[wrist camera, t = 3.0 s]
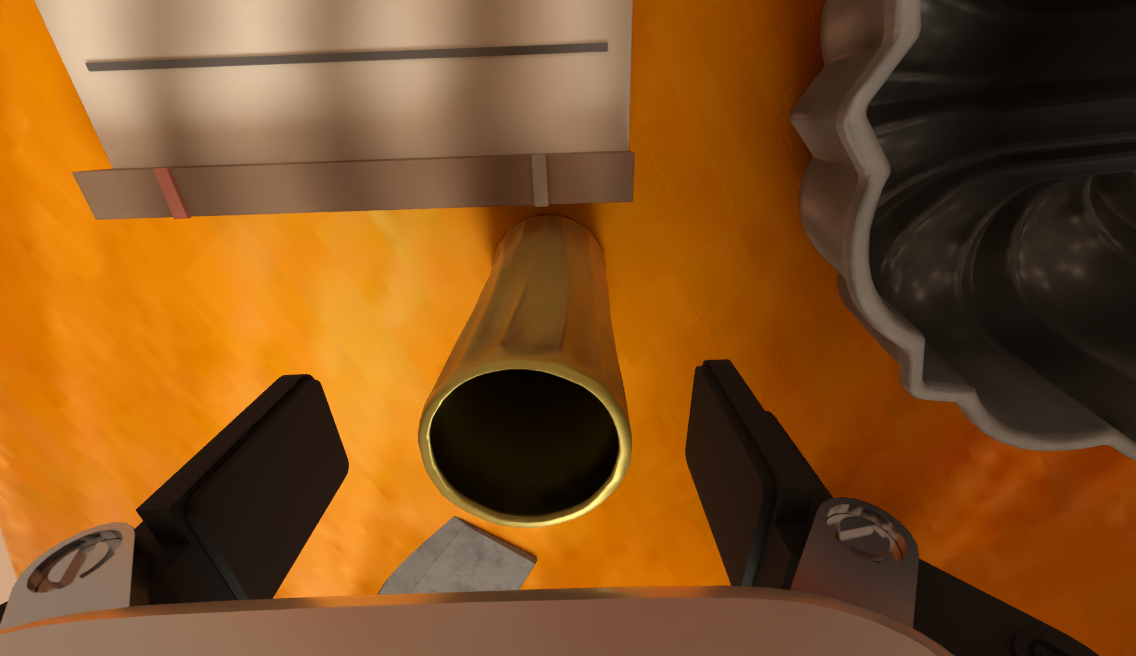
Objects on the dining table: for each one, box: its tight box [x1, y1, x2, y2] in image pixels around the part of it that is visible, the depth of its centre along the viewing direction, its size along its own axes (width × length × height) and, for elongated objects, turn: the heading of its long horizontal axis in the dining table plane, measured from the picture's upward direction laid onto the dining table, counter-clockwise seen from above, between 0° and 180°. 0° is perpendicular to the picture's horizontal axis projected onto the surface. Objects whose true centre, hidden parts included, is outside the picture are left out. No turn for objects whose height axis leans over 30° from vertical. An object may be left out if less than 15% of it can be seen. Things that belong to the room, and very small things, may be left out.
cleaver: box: [378, 516, 537, 595], centre depth 37 cm, size 30×10×2 cm, turn 150°
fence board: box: [34, 0, 634, 220], centre depth 18 cm, size 24×10×3 cm, turn 92°
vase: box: [418, 215, 632, 528], centre depth 16 cm, size 6×6×14 cm
